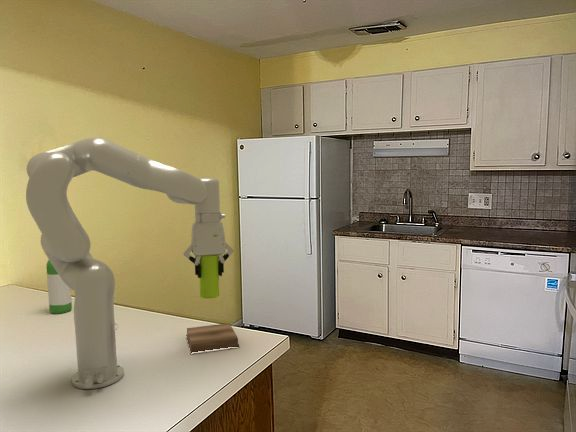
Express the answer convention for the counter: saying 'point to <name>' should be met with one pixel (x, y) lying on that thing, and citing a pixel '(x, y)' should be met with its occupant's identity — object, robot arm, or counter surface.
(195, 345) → the plinth
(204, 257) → the soap dispenser
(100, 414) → the counter surface
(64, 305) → the wine bottle
